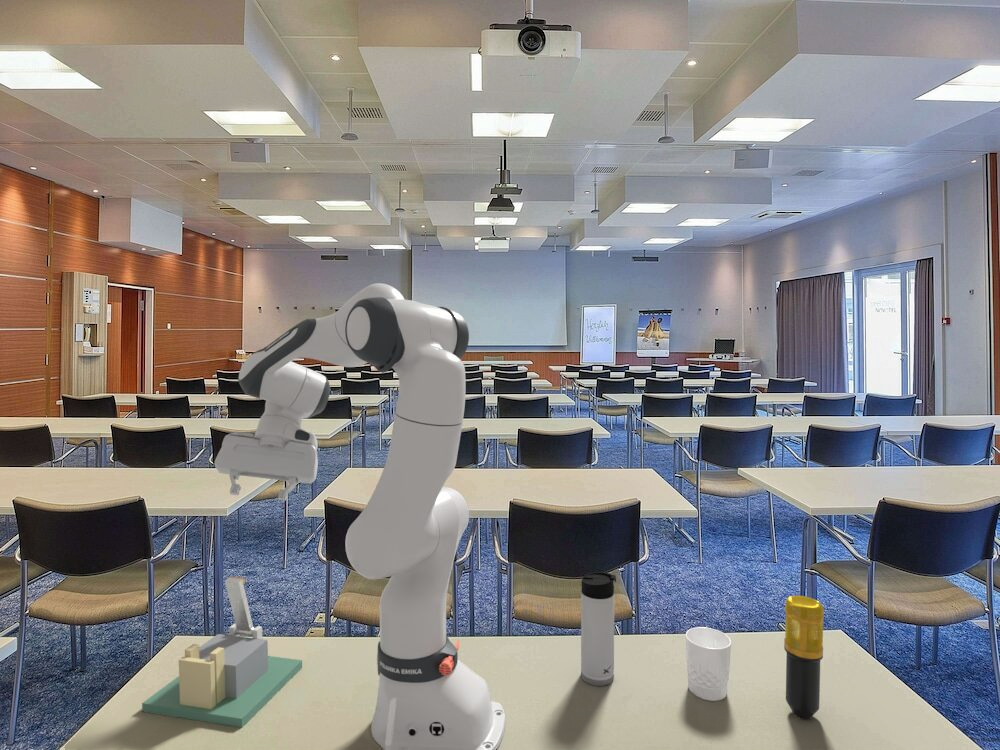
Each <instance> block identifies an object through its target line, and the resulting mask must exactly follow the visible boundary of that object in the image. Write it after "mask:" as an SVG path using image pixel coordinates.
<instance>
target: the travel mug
mask: <svg viewBox="0 0 1000 750" xmlns="http://www.w3.org/2000/svg"><path fill="white" fill-rule="evenodd" d="M616 582H617V576H616V575H615V574H611V573H609V572H604V571H601V572H599V571H597V572H590V573H588V574H585V575H584V576H583V577H582V578H581V591H580V593H581V594H580V595H581V596H580V597H581V598H580V603H581V604H580V607H581V608H580V611H581V612H580V615H581V616H580V648H581V649H580V652H581V653H580V676H581V679H582V680H583V681H584V682H585V683H588V684H590V685H593V686H598V687H599V686H600V687H602V686H603V687H604V686H607V685H610V684H611V683H612V682H613V681H614V679H615V674H614V673H615V586H614V585H615V584H614V583H616Z"/></svg>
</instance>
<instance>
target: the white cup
mask: <svg viewBox="0 0 1000 750" xmlns="http://www.w3.org/2000/svg"><path fill="white" fill-rule="evenodd" d="M731 649H732V639H731V638H730V636H728V635H727V634H726V633H725V632H722V631H721V630H718V629H715V628H710V627H706V626H701V627H700V626H697V627H691V628H690V629H688V630H687V631H686V632H685V651H686V652H685V653H686V655H685V656H686V670H687V672H686V673H687V687H688V689H689V690H690V691H689V692H691V693H692V694H693V695H694V696H696V697H698V698H699V699H702V700H705V701H709V702H711V701H712V702H714V701H715V702H716V701H722V700H723V699H725V698H727V695H728V684H729V678H730V676H729V675H730V668H731V667H730V666H731V651H732V650H731Z"/></svg>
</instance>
